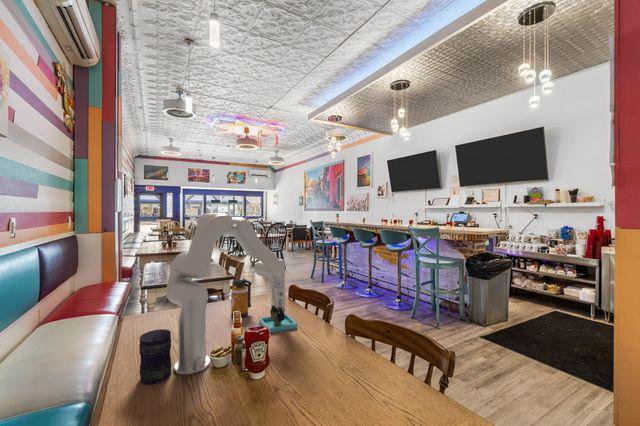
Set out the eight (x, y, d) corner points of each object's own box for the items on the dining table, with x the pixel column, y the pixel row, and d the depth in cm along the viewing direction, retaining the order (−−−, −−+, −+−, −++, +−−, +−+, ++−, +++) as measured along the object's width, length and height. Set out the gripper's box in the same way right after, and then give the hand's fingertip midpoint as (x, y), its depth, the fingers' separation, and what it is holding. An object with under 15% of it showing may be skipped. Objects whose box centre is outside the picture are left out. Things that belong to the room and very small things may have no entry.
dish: (297, 328, 145) (297, 323, 145) (267, 334, 138) (267, 329, 138) (286, 318, 159) (286, 313, 158) (258, 323, 152) (258, 318, 152)
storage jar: (143, 372, 107) (142, 331, 106) (173, 367, 110) (172, 327, 110) (136, 388, 97) (136, 343, 97) (169, 381, 101) (169, 338, 101)
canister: (230, 314, 165) (229, 278, 164) (250, 311, 169) (249, 276, 169) (232, 319, 157) (232, 282, 156) (253, 316, 161) (253, 280, 161)
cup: (282, 328, 144) (282, 312, 144) (268, 327, 145) (267, 311, 145) (286, 322, 151) (286, 306, 151) (273, 321, 152) (273, 306, 152)
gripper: (290, 286, 142) (290, 322, 142) (278, 279, 157) (278, 310, 158) (275, 288, 139) (276, 324, 139) (265, 280, 154) (265, 313, 154)
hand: (277, 317), depth 148 cm, fingers open, 9 cm apart
